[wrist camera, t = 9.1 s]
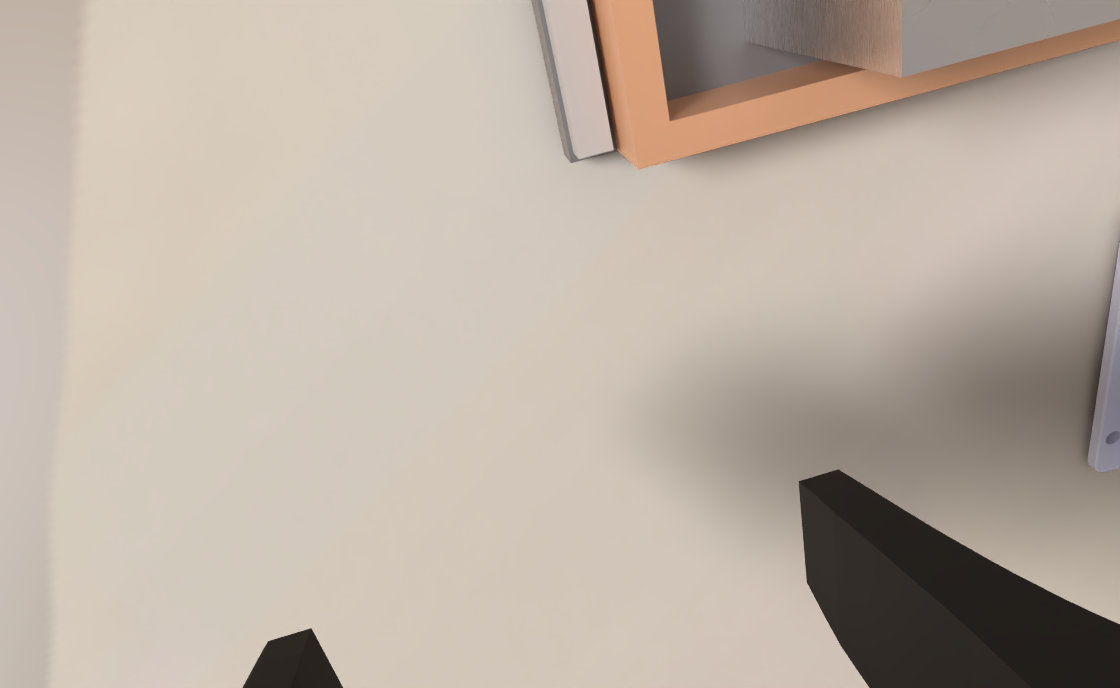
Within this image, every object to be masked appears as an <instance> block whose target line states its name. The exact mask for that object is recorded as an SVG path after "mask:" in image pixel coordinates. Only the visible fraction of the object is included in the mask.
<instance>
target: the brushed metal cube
mask: <svg viewBox="0 0 1120 688" xmlns="http://www.w3.org/2000/svg"><path fill="white" fill-rule="evenodd" d="M742 6H743V17H744V28H745V39H746V42H750V43H754V44H758V45H763V46H767V47H772V48H776V49H780V50H785V51H789V52H793V53H798V54H802V55H806V56H811V57H815V58H819V59H824V60H828V61H832V62H837V63H841V64H845V65H850V66H854V67H858V68H863V69H867V70H871V71H876V72H880V73H884V74H889V75H893V76H897V77H905V76H909V75H913V74H916V73H920V72H924V71H928V70H931V69H935V68H939V67H943V66H946V65H950V64H954V63H957V62H961V61H965V60H969V59H972V58H976V57H980V56H984V55H987V54H991V53H995V52H999V51H1002V50H1006V49H1010V48H1013V47H1017V46H1021V45H1025V44H1028V43H1032V42H1036V41H1040V40H1043V39H1047V38H1051V37H1055V36H1058V35H1062V34H1066V33H1069V32H1073V31H1077V30H1081V29H1084V28H1088V27H1092V26H1096V25H1099V24H1103V23H1107V22H1111V21H1114V20H1118V19H1120V0H742Z"/></svg>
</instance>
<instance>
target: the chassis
mask: <svg viewBox="0 0 1120 688" xmlns="http://www.w3.org/2000/svg"><path fill="white" fill-rule="evenodd" d="M532 4H533V9H534V14H535V19H536V23H537V28H538V33H539V37H540V42H541V47H542V51H543V56H544V61H545V66H546V70H547V75H548V80H549V84H550V89H551V94H552V98H553V103H554V108H555V113H556V117H557V122H558V127H559V131H560V136H561V141H562V145H563V150H564V155H565V156H566V157H567V159H568V160H569V161H570V162H571V163H573V162H576V161H580V160H584V159H588V158H591V157H595V156H599V155H603V154H606V153H610V152H614V151H618V152H619V153H620V154H622V155H623V156H624V157H625V158H626V159H627V160H629V161H630V162H631V163H632V164H633V165H634V166H635V167H637V168H638V169H642V168H646V167H649V166H653V165H657V164H661V163H664V162H668V161H672V160H675V159H679V158H683V157H687V156H690V155H694V154H698V153H701V152H705V151H709V150H713V149H716V148H720V147H724V146H728V145H731V144H735V143H739V142H742V141H746V140H750V139H754V138H757V137H761V136H765V135H768V134H772V133H776V132H780V131H783V130H787V129H791V128H794V127H798V126H802V125H806V124H809V123H813V122H817V121H820V120H824V119H828V118H832V117H835V116H839V115H843V114H847V113H850V112H854V111H858V110H861V109H865V108H869V107H873V106H876V105H880V104H884V103H887V102H891V101H895V100H899V99H902V98H906V97H910V96H913V95H917V94H921V93H925V92H928V91H932V90H936V89H939V88H943V87H947V86H951V85H954V84H958V83H962V82H966V81H969V80H973V79H977V78H980V77H984V76H988V75H992V74H995V73H999V72H1003V71H1006V70H1010V69H1014V68H1018V67H1021V66H1025V65H1029V64H1032V63H1036V62H1040V61H1044V60H1047V59H1051V58H1055V57H1058V56H1062V55H1066V54H1070V53H1073V52H1077V51H1081V50H1085V49H1088V48H1092V47H1096V46H1099V45H1103V44H1107V43H1111V42H1114V41H1118V40H1120V19H1118V20H1114V21H1111V22H1107V23H1103V24H1099V25H1096V26H1092V27H1088V28H1084V29H1081V30H1077V31H1073V32H1069V33H1066V34H1062V35H1058V36H1055V37H1051V38H1047V39H1043V40H1040V41H1036V42H1032V43H1028V44H1025V45H1021V46H1017V47H1013V48H1010V49H1006V50H1002V51H999V52H995V53H991V54H987V55H984V56H980V57H976V58H972V59H969V60H965V61H961V62H957V63H954V64H950V65H946V66H943V67H939V68H935V69H931V70H928V71H924V72H920V73H916V74H913V75H909V76H905V77H897V76H893V75H889V74H884V73H880V72H876V71H871V70H867V69H863V68H858V67H854V66H850V65H845V64H841V63H837V62H832V61H828V60H824V59H819V58H815V57H811V56H806V55H802V54H798V53H793V52H789V51H785V50H780V49H776V48H772V47H767V46H763V45H758V44H754V43H750V42H746V39H745V28H744V17H743V6H742V0H532Z"/></svg>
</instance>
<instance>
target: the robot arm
mask: <svg viewBox="0 0 1120 688" xmlns="http://www.w3.org/2000/svg"><path fill="white" fill-rule="evenodd" d="M1088 464H1089V466H1090V467H1092V468H1093V469H1094V470H1096V471H1097V472H1100V473H1103V472H1108V471H1112V470H1115V469H1118V468H1120V244H1119V250H1118V257H1117V264H1116V271H1115V277H1114V284H1113V291H1112V298H1111V305H1110V311H1109V318H1108V325H1107V332H1106V338H1105V345H1104V352H1103V359H1102V365H1101V372H1100V379H1099V386H1098V393H1097V399H1096V406H1095V413H1094V420H1093V426H1092V433H1091V440H1090V447H1089V453H1088ZM799 490H800V503H801V515H802V527H803V540H804V552H805V565H806V577H807V583H808V585H809V587H810V589H811V591H812V593H813V595H814V597H815V599H816V600H817V602H818V604H819V606H820V608H821V610H822V612H823V614H824V616H825V618H826V620H827V621H828V623H829V625H830V627H831V629H832V630H833V632H834V634H835V636H836V638H837V640H838V641H839V643H840V645H841V647H842V648H843V650H844V651H845V653H846V654H847V655H848V657H849V658H850V660H851V661H852V663H853V664H854V666H855V667H856V669H857V670H858V672H859V673H860V675H861V676H862V677H863V679H864V680H865V682H866V683H867V685H868V686H869V688H1120V624H1117V623H1115V622H1113V621H1111V620H1108V619H1106V618H1104V617H1102V616H1099V615H1097V614H1095V613H1093V612H1091V611H1088V610H1086V609H1084V608H1082V607H1080V606H1078V605H1076V604H1074V603H1071V602H1069V601H1067V600H1065V599H1063V598H1061V597H1059V596H1057V595H1055V594H1053V593H1051V592H1049V591H1047V590H1045V589H1044V588H1042V587H1040V586H1038V585H1036V584H1034V583H1032V582H1030V581H1028V580H1026V579H1024V578H1022V577H1020V576H1018V575H1016V574H1014V573H1012V572H1011V571H1009V570H1007V569H1005V568H1003V567H1001V566H999V565H998V564H996V563H994V562H992V561H990V560H989V559H987V558H985V557H983V556H982V555H980V554H978V553H976V552H975V551H973V550H971V549H969V548H967V547H966V546H964V545H962V544H960V543H959V542H957V541H955V540H953V539H952V538H950V537H948V536H946V535H945V534H943V533H941V532H940V531H938V530H936V529H935V528H933V527H931V526H930V525H928V524H926V523H925V522H923V521H921V520H920V519H918V518H916V517H915V516H913V515H911V514H910V513H908V512H907V511H905V510H903V509H902V508H900V507H898V506H897V505H895V504H893V503H892V502H890V501H889V500H887V499H885V498H884V497H882V496H881V495H879V494H877V493H876V492H874V491H873V490H871V489H869V488H868V487H866V486H864V485H863V484H861V483H860V482H858V481H856V480H855V479H853V478H851V477H850V476H848V475H846V474H845V473H843V472H841V471H840V470H835V471H832V472H829V473H825V474H822V475H819V476H815V477H812V478H809V479H805V480H802V481H799ZM243 688H343V687H342V685H341V683H340V681H339V679H338V677H337V675H336V674H335V672H334V670H333V668H332V666H331V664H330V662H329V661H328V659H327V657H326V655H325V653H324V651H323V649H322V647H321V646H320V644H319V642H318V640H317V638H316V636H315V634H314V632H313V631H312V629H307V630H304V631H301V632H297V633H294V634H291V635H287V636H284V637H281V638H278V639H274V640H271V641H268V643H267V644H266V646H265V648H264V649H263V651H262V653H261V655H260V657H259V658H258V660H257V662H256V664H255V666H254V667H253V669H252V671H251V673H250V675H249V677H248V679H247V680H246V682H245V684H244V686H243Z"/></svg>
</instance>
